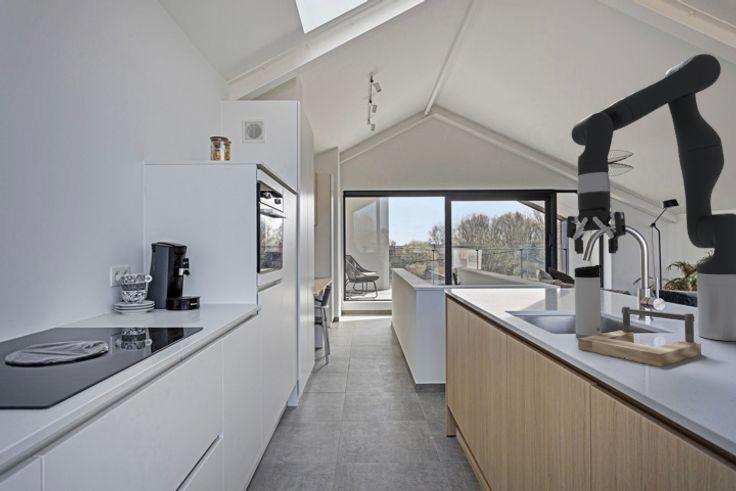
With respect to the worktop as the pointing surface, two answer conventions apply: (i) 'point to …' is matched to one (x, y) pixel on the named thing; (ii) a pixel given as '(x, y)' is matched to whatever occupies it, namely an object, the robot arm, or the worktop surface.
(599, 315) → the travel mug
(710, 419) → the worktop surface
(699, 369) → the worktop surface
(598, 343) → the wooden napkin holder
